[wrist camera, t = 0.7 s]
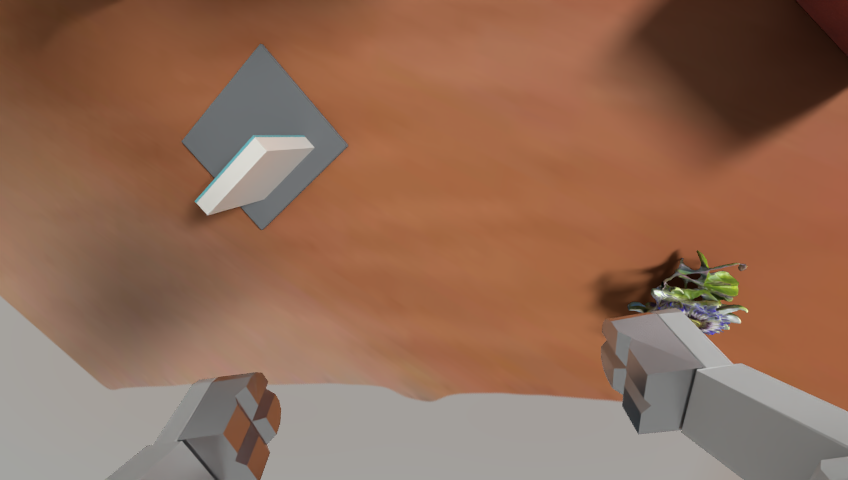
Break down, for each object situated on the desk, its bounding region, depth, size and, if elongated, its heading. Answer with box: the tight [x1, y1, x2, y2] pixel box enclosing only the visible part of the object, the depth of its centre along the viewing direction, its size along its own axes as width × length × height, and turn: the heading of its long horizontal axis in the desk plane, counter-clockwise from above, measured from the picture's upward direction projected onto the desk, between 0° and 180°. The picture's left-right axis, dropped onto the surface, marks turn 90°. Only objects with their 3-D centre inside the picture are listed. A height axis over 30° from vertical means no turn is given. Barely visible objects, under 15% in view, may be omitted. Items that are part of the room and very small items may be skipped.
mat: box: [182, 44, 348, 230], centre depth 55 cm, size 18×20×1 cm
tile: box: [195, 135, 314, 215], centre depth 49 cm, size 2×12×12 cm, turn 131°
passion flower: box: [627, 251, 748, 335], centre depth 47 cm, size 11×11×12 cm
